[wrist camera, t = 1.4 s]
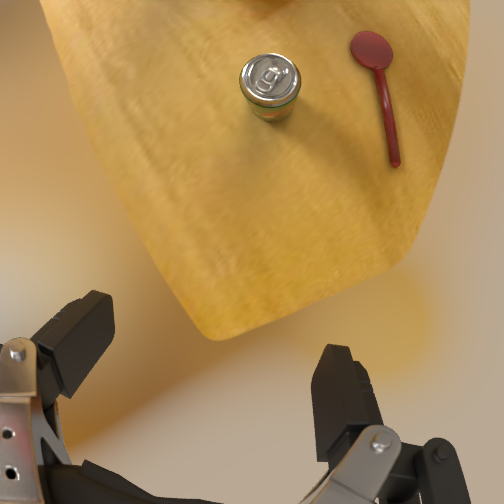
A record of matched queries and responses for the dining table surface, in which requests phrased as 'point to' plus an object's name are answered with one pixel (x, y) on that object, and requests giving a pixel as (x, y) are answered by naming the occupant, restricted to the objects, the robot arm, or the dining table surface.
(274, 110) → the soda can
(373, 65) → the spoon
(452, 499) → the robot arm
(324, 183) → the dining table surface
